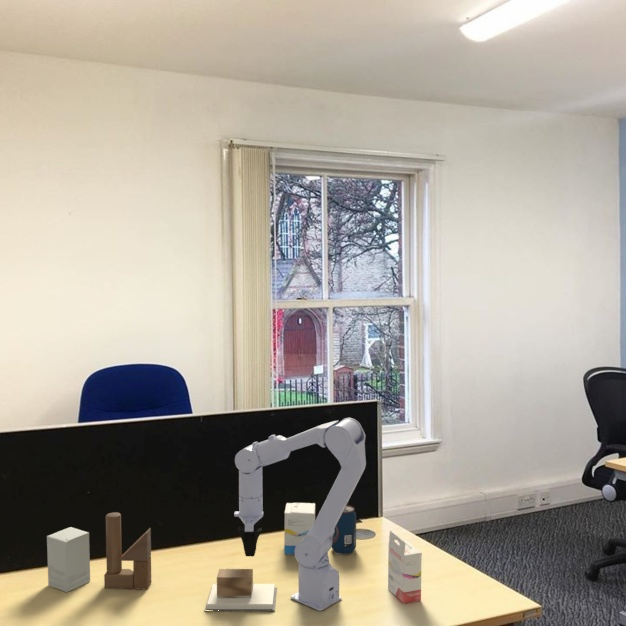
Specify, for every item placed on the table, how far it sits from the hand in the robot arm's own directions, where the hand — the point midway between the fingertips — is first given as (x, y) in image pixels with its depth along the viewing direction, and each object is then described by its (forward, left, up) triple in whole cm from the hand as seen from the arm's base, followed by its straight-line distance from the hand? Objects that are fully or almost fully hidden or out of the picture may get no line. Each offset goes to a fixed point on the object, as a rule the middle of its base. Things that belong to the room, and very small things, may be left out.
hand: (251, 549), depth 170 cm
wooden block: (+23, +20, -10) cm, 32 cm away
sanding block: (-2, +7, -8) cm, 11 cm away
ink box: (+7, -25, -10) cm, 27 cm away
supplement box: (+35, +29, -10) cm, 46 cm away
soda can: (-3, -32, -10) cm, 33 cm away
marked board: (-3, +6, -9) cm, 12 cm away
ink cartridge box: (-30, -22, -10) cm, 39 cm away
